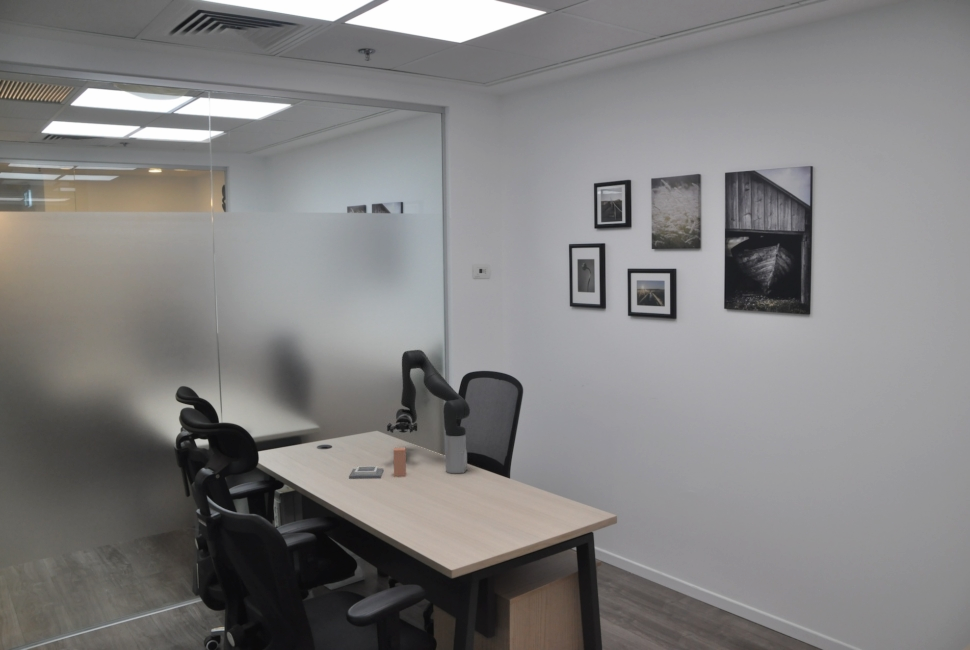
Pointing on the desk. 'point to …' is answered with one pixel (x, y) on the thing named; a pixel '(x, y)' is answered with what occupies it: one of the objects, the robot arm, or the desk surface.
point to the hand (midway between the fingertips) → (401, 430)
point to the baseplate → (366, 472)
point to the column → (399, 462)
